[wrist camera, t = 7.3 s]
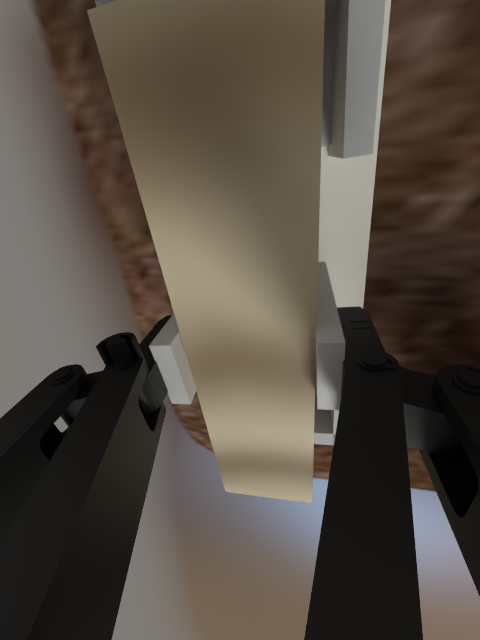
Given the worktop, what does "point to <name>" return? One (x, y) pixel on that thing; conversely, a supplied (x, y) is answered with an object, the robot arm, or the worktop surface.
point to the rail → (232, 209)
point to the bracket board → (348, 151)
